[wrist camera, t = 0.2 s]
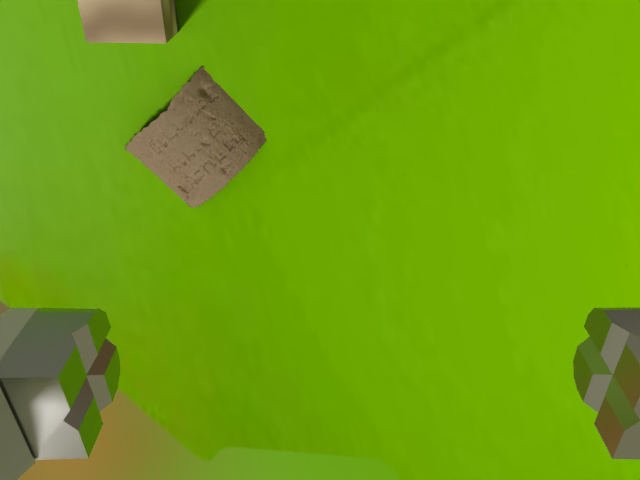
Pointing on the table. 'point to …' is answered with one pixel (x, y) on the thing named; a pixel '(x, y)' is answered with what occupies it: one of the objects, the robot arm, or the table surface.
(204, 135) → the clay tablet
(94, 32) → the block
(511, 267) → the table surface
